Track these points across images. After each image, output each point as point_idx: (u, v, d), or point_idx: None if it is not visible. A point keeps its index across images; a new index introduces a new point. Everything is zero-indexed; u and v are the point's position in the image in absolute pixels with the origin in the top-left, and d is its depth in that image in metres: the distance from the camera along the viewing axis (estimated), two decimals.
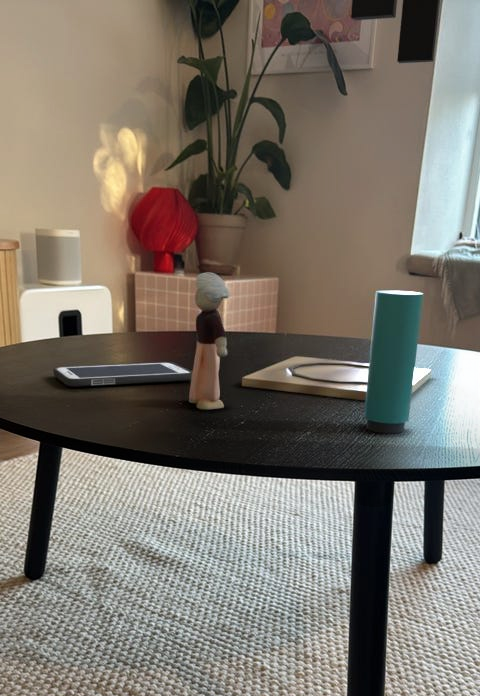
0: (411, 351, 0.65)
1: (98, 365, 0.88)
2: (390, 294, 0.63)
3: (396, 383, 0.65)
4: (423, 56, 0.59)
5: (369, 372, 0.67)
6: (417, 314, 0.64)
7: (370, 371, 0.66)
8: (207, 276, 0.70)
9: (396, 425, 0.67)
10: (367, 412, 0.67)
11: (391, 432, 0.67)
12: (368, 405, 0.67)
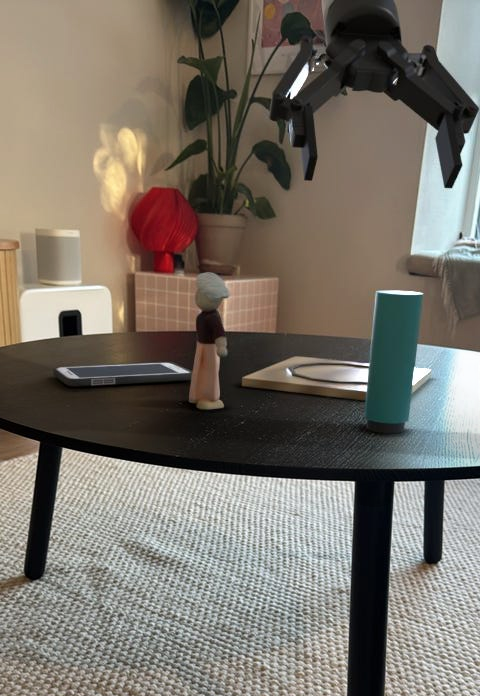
0: (411, 351, 0.65)
1: (98, 365, 0.88)
2: (390, 294, 0.63)
3: (396, 383, 0.65)
4: (451, 168, 0.70)
5: (369, 372, 0.67)
6: (417, 314, 0.64)
7: (370, 371, 0.66)
8: (207, 276, 0.70)
9: (396, 425, 0.67)
10: (367, 412, 0.67)
11: (391, 432, 0.67)
12: (368, 405, 0.67)
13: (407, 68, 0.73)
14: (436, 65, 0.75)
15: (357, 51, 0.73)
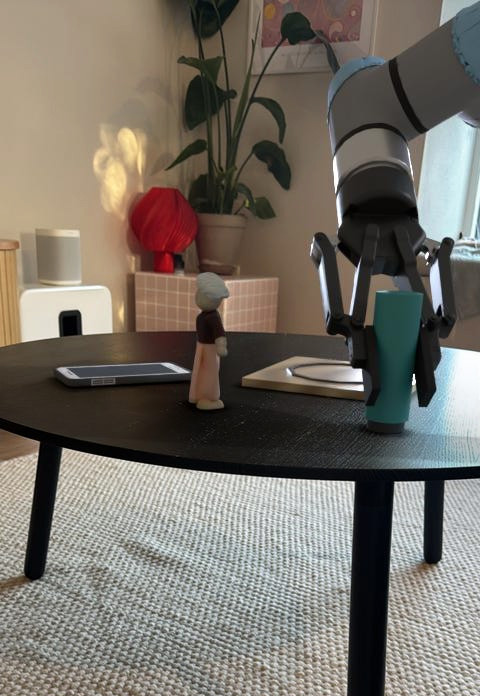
0: (411, 351, 0.65)
1: (98, 365, 0.88)
2: (390, 294, 0.63)
3: (396, 383, 0.65)
4: (425, 391, 0.63)
5: None
6: (417, 314, 0.64)
7: None
8: (207, 276, 0.70)
9: (396, 425, 0.67)
10: (367, 412, 0.67)
11: (391, 432, 0.67)
12: None
13: (408, 260, 0.68)
14: (443, 260, 0.69)
15: (376, 238, 0.68)
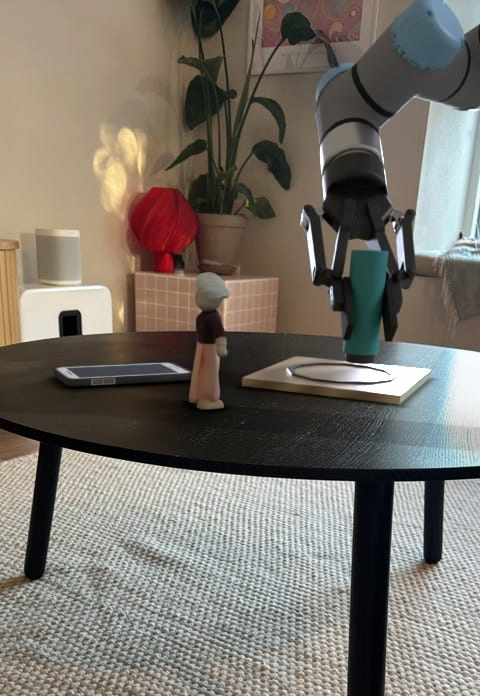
0: (379, 297, 0.82)
1: (98, 365, 0.88)
2: (362, 251, 0.80)
3: (367, 322, 0.83)
4: (389, 328, 0.81)
5: None
6: (383, 267, 0.81)
7: None
8: (207, 276, 0.70)
9: (368, 357, 0.85)
10: (345, 347, 0.85)
11: (364, 362, 0.85)
12: (346, 341, 0.85)
13: (378, 227, 0.85)
14: (406, 227, 0.86)
15: (353, 209, 0.86)
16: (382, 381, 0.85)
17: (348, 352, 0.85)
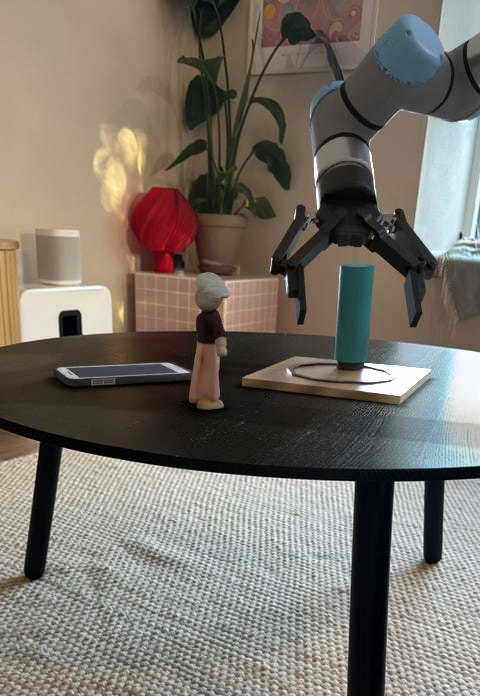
0: (367, 308, 0.88)
1: (98, 365, 0.88)
2: (349, 267, 0.86)
3: (356, 332, 0.89)
4: (414, 314, 0.88)
5: (337, 325, 0.90)
6: (370, 281, 0.87)
7: (337, 324, 0.90)
8: (207, 276, 0.70)
9: (357, 364, 0.91)
10: (336, 355, 0.91)
11: (354, 369, 0.91)
12: (337, 349, 0.91)
13: (380, 230, 0.92)
14: (404, 226, 0.93)
15: (340, 218, 0.92)
16: (382, 381, 0.85)
17: (339, 360, 0.91)
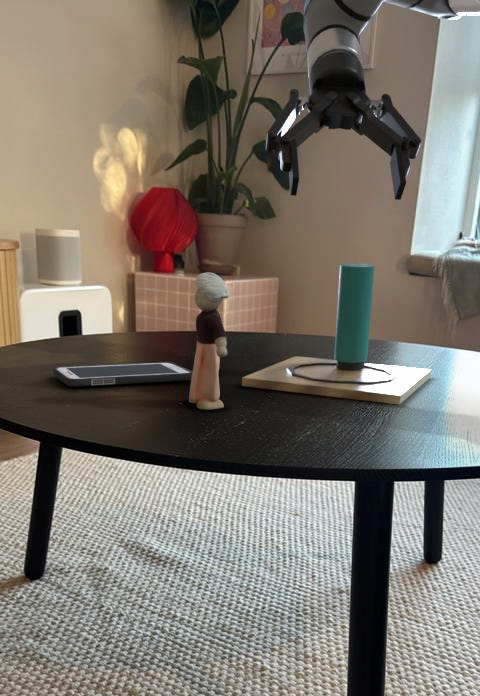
0: (367, 308, 0.88)
1: (98, 365, 0.88)
2: (349, 267, 0.86)
3: (356, 332, 0.89)
4: (398, 185, 0.95)
5: (337, 325, 0.90)
6: (370, 281, 0.87)
7: (337, 324, 0.90)
8: (207, 276, 0.70)
9: (357, 364, 0.91)
10: (336, 355, 0.91)
11: (354, 369, 0.91)
12: (337, 349, 0.91)
13: (368, 112, 0.99)
14: (391, 109, 1.00)
15: (331, 100, 0.99)
16: (382, 381, 0.85)
17: (339, 360, 0.91)
